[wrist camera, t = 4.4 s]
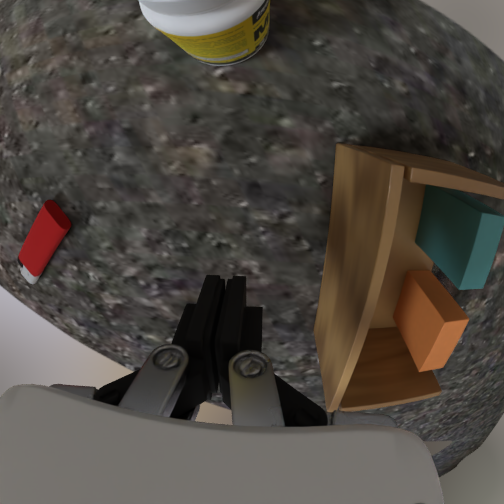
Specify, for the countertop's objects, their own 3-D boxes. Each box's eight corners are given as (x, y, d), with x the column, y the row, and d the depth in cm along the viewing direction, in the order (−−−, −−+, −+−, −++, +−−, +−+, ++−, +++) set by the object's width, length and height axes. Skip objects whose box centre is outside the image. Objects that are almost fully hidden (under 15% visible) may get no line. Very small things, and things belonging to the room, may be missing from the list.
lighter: (64, 232, 16) (32, 287, 18) (74, 225, 17) (39, 279, 19) (41, 203, 15) (12, 263, 17) (51, 197, 16) (21, 257, 18)
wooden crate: (335, 142, 14) (391, 164, 7) (450, 161, 14) (530, 195, 7) (313, 330, 20) (327, 413, 13) (407, 325, 19) (441, 394, 13)
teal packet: (426, 181, 14) (482, 212, 9) (449, 185, 14) (506, 216, 9) (414, 242, 16) (458, 290, 11) (437, 243, 16) (483, 288, 11)
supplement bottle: (273, 63, 12) (281, 1, 5) (185, 73, 12) (104, 36, 5) (265, -8, 10) (263, -98, 2) (180, 3, 10) (114, -66, 3)
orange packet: (407, 270, 16) (444, 322, 12) (429, 269, 16) (469, 318, 11) (392, 317, 18) (418, 372, 13) (413, 315, 18) (442, 367, 13)
